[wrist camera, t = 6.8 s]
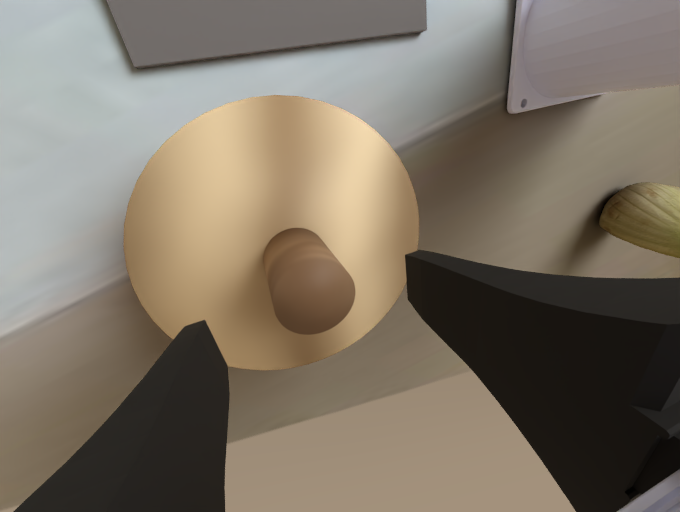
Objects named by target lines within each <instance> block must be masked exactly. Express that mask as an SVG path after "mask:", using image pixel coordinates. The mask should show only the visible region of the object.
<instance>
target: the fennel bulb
mask: <svg viewBox="0 0 680 512" xmlns="http://www.w3.org/2000/svg"><path fill="white" fill-rule="evenodd" d="M599 226H600V227H601V228H603V229H604V230H606V231H607V232H609V233H610V234H612V235H613V236H615V237H617V238H620V239H622V240H624V241H627V242H630V243H632V244H634V245H637V246H639V247H642V248H645V249H649V250H652V251H655V252H658V253H661V254H665V255H669V256H673V257H677V258H680V187H675V186H669V185H661V184H657V183H650V182H645V183H636V184H633V185H629V186H627V187H625V188H623V189H622V190H620V191H619V192H618V193H616V194H615V195H614V196H613V197H612V198H611V199H610V200H609V201H608V202H607V203H606V205H605V206H604V209H603V211H602V214H601V216H600V221H599Z"/></svg>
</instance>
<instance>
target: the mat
mask: <svg viewBox="0 0 680 512" xmlns="http://www.w3.org/2000/svg"><path fill="white" fill-rule="evenodd" d="M106 1H107V3H108V6H109V8H110V10H111V13H112V15H113V17H114V20H115V22H116V25H117V27H118V29H119V32H120V34H121V37H122V39H123V41H124V44H125V46H126V49H127V51H128V53H129V56H130V58H131V60H132V63H133V65H134V67H135V68H137V69H138V68H146V67H154V66H161V65H169V64H177V63H185V62H193V61H200V60H208V59H216V58H224V57H231V56H239V55H247V54H255V53H263V52H270V51H278V50H286V49H294V48H302V47H309V46H317V45H325V44H333V43H340V42H348V41H356V40H364V39H372V38H379V37H387V36H395V35H403V34H410V33H418V32H423V31H425V30H427V20H426V0H106Z"/></svg>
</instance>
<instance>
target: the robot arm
mask: <svg viewBox="0 0 680 512" xmlns="http://www.w3.org/2000/svg"><path fill="white" fill-rule="evenodd" d="M674 85H680V0H517V3H516V14H515V25H514V36H513V47H512V57H511V68H510V79H509V90H508V101H507V110H508V112H509V113H511V114H513V113H520V112H524V111H529V110H533V109H538V108H542V107H547V106H551V105H556V104H561V103H565V102H570V101H574V100H579V99H583V98H588V97H592V96H597V95H601V94H606V93H610V92H617V91H627V90H636V89H646V88H655V87H665V86H674ZM521 101H522V104H521ZM405 264H406V279H407V293H408V300H409V301H410V303H411V304H412V306H413V307H414V309H415V310H416V311H417V313H418V314H419V315H420V316H421V318H422V319H423V320H424V321H425V322H426V323H427V324H428V325H429V326H430V327H431V328H432V330H433V331H434V332H435V333H436V334H437V335H438V336H439V337H440V338H441V339H442V340H443V341H444V342H445V343H446V344H447V345H448V346H449V347H450V348H451V349H452V350H453V351H454V352H455V353H456V354H457V355H458V356H459V357H460V358H461V359H462V360H463V361H464V362H465V363H466V364H467V365H468V366H469V367H470V368H471V369H472V371H473V372H474V373H475V374H476V375H477V376H478V378H480V380H481V381H482V382H483V384H484V385H485V386H486V387H487V389H488V390H489V391H490V392H491V394H492V395H493V396H494V397H495V398H496V400H497V401H498V402H499V403H500V405H501V406H502V408H503V409H504V410H505V411H506V413H507V414H508V415H509V417H510V418H511V419H512V421H513V422H514V423H515V424H516V426H517V427H518V429H519V430H520V431H521V433H522V434H523V435H524V437H525V438H526V439H527V441H528V442H529V444H530V445H531V446H532V448H533V449H534V451H535V452H536V453H537V455H538V456H539V458H540V459H541V460H542V462H543V463H544V465H545V466H546V468H547V469H548V471H549V472H550V473H551V475H552V476H553V478H554V479H555V481H556V482H557V484H558V485H559V487H560V488H561V490H562V491H563V493H564V494H565V495H566V497H567V498H568V500H569V501H570V503H571V504H572V506H573V507H574V509H575V511H576V512H680V278H658V279H634V278H593V277H577V276H563V275H552V274H543V273H535V272H527V271H520V270H514V269H508V268H503V267H497V266H492V265H487V264H482V263H477V262H473V261H468V260H464V259H460V258H456V257H451V256H447V255H443V254H438V253H434V252H429V251H422V250H418V251H415V252H412V253H409V254H406V255H405ZM228 411H229V380H228V368H227V363H226V361H225V359H224V357H223V355H222V353H221V351H220V349H219V347H218V345H217V343H216V341H215V339H214V337H213V335H212V333H211V331H210V329H209V327H208V325H207V323H206V321H205V320H202V321H199V322H196V323H193V324H190V325H187V326H184V328H183V329H182V330H181V331H180V332H179V333H178V335H177V336H176V337H175V338H174V340H173V341H172V342H171V344H170V345H169V346H168V347H167V349H166V350H165V351H164V353H163V354H162V355H161V356H160V358H159V359H158V360H157V361H156V363H155V364H154V365H153V366H152V368H151V369H150V370H149V372H148V373H147V374H146V375H145V377H144V378H143V379H142V380H141V381H140V383H139V384H138V385H137V386H136V387H135V388H134V390H133V391H132V392H131V393H130V394H129V395H128V397H127V398H126V399H125V400H124V401H123V402H122V404H121V405H120V406H119V407H118V408H117V409H116V411H115V412H114V413H113V414H112V415H111V416H110V417H109V418H108V420H107V421H106V422H105V423H104V424H103V425H102V426H101V427H100V428H99V429H98V430H97V431H96V432H95V433H94V435H93V436H92V437H91V438H90V439H89V440H88V441H87V442H86V443H85V444H84V445H83V446H82V447H81V448H80V449H79V450H78V451H77V452H76V453H75V454H74V455H73V456H72V457H71V458H70V459H69V460H68V461H67V462H66V463H65V464H64V465H63V466H62V467H61V468H60V469H59V470H58V471H56V472H55V473H54V474H53V475H52V476H51V477H50V478H49V479H48V480H47V481H46V482H45V483H44V484H43V485H41V486H40V487H39V488H38V489H37V490H36V491H35V492H34V493H33V494H32V495H31V496H30V497H29V498H27V499H26V500H25V501H24V502H23V503H22V504H21V505H20V506H19V507H18V508H17V509H16V510H15V511H14V512H225V491H224V484H225V483H224V482H225V480H224V479H225V458H226V443H227V428H228Z"/></svg>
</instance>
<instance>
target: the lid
mask: <svg viewBox="0 0 680 512" xmlns="http://www.w3.org/2000/svg"><path fill="white" fill-rule="evenodd" d="M418 239H419V214H418V205H417V200H416V196H415V192H414V188H413V186H412V183H411V180H410V178H409V175H408V173H407V171H406V169H405V167H404V166H403V164H402V162H401V160H400V158H399V157H398V156H397V154H396V153H395V151H394V150H393V149H392V147H391V146H390V145H389V143H388V142H387V141H386V140H385V139H384V138H383V137H382V136H381V135H380V134H379V133H378V132H377V131H376V130H374V129H373V128H372V127H370V126H369V125H368V124H366V123H365V122H364V121H362V120H361V119H360V118H358V117H356V116H354V115H352V114H351V113H349V112H347V111H345V110H343V109H341V108H339V107H336V106H333V105H330V104H328V103H325V102H322V101H318V100H314V99H309V98H304V97H299V96H282V95H272V96H261V97H251V98H247V99H243V100H239V101H235V102H231V103H227V104H225V105H223V106H220V107H218V108H215V109H213V110H211V111H208V112H206V113H204V114H202V115H201V116H199V117H197V118H196V119H194V120H193V121H191V122H189V123H188V124H186V125H184V126H183V127H182V128H181V129H180V130H178V131H177V132H176V133H175V134H174V135H173V136H171V137H170V138H169V139H168V140H167V141H166V142H164V144H163V145H162V146H161V147H160V148H159V150H158V151H157V152H156V153H155V154H154V156H153V157H152V158H151V159H150V160H149V162H148V163H147V165H146V167H145V168H144V170H143V172H142V174H141V175H140V177H139V179H138V180H137V182H136V185H135V188H134V190H133V193H132V195H131V198H130V201H129V203H128V208H127V213H126V218H125V223H124V253H125V260H126V267H127V271H128V274H129V277H130V280H131V283H132V286H133V289H134V291H135V293H136V295H137V297H138V299H139V301H140V302H141V304H142V306H143V307H144V309H145V310H146V312H147V313H148V314H149V316H150V317H151V318H152V320H153V321H154V322H155V323H156V324H157V325H158V326H159V327H160V328H161V329H162V330H163V331H164V332H165V333H166V334H167V335H168V336H169V337H171V338H172V339H173V340H174V338H175V337H176V336H177V335H178V333H179V332H180V331H181V330H182V329H183V328H184V326H187V325H190V324H193V323H196V322H199V321H202V320H205V321H206V323H207V325H208V327H209V329H210V331H211V333H212V335H213V337H214V339H215V341H216V343H217V345H218V347H219V349H220V351H221V353H222V355H223V357H224V359H225V361H226V363H227V366H230V367H236V368H242V369H251V370H279V369H286V368H294V367H298V366H302V365H306V364H310V363H313V362H316V361H319V360H322V359H324V358H327V357H329V356H331V355H333V354H336V353H338V352H339V351H341V350H343V349H345V348H346V347H348V346H350V345H352V344H353V343H354V342H356V341H357V340H359V339H360V338H362V337H363V336H364V335H365V334H366V333H368V332H369V331H370V330H371V329H372V328H373V327H375V325H376V324H377V323H378V322H379V321H380V320H381V319H382V318H383V317H384V316H385V315H386V314H387V312H388V311H389V310H390V309H391V307H392V306H393V305H394V303H395V302H396V300H397V298H398V297H399V295H400V294H401V292H402V290H403V288H404V286H405V284H406V282H407V279H406V264H405V255H406V254H409V253H412V252H415V251H417V247H418Z"/></svg>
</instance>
